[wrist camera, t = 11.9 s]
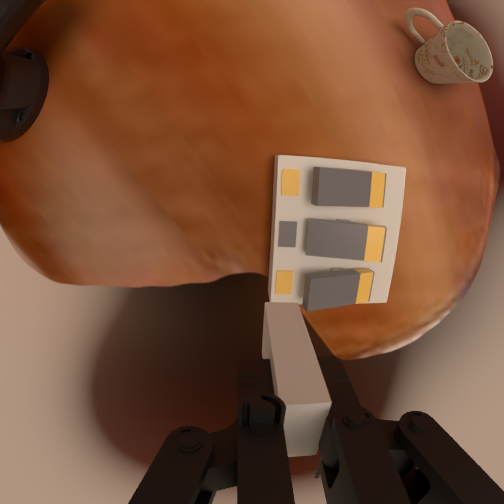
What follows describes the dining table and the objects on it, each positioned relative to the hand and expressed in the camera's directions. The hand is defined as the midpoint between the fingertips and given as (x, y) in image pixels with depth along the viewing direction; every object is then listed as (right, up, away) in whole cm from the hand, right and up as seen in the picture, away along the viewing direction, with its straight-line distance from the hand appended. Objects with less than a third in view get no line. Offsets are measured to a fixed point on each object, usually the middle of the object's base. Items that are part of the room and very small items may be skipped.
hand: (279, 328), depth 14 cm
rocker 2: (+9, +5, +20) cm, 23 cm away
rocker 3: (+9, -1, +22) cm, 24 cm away
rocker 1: (+10, +11, +18) cm, 23 cm away
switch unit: (+9, +7, +26) cm, 28 cm away
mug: (+23, +32, +19) cm, 44 cm away
